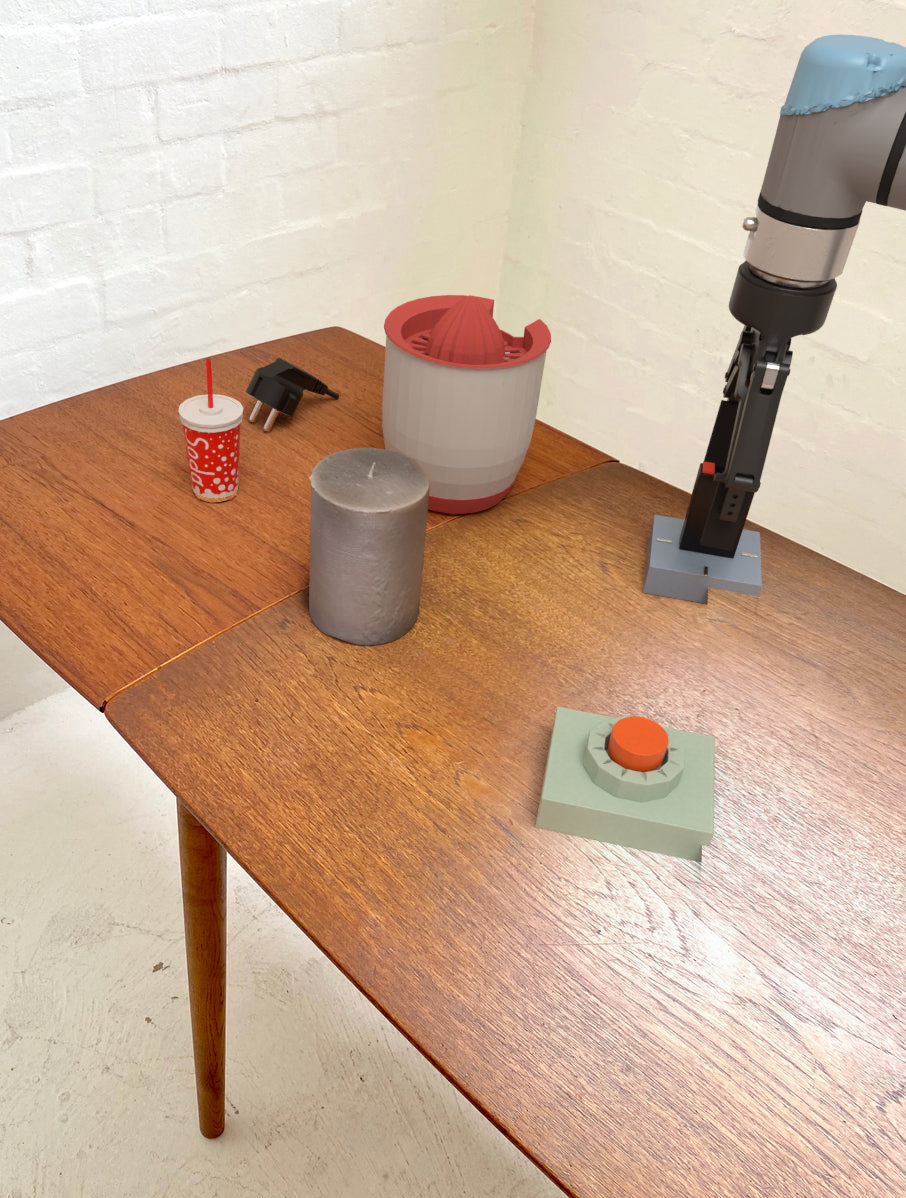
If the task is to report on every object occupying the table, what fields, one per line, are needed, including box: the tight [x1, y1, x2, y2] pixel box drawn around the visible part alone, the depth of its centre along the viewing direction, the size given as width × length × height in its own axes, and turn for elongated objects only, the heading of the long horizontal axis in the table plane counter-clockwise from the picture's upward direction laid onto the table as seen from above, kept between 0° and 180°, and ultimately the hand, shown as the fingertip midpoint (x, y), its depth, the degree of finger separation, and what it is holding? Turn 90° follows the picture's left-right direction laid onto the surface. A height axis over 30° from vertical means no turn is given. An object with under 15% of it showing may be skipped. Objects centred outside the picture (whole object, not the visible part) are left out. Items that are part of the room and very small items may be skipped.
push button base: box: [534, 706, 716, 863], centre depth 81 cm, size 12×10×5 cm
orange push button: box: [608, 715, 669, 772], centre depth 79 cm, size 4×4×2 cm
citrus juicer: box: [381, 294, 552, 516], centre depth 108 cm, size 16×17×20 cm
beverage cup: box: [178, 357, 244, 499], centre depth 107 cm, size 6×6×14 cm
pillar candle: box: [308, 447, 430, 646], centre depth 93 cm, size 10×10×15 cm
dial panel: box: [642, 514, 763, 605], centre depth 104 cm, size 10×9×3 cm
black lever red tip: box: [679, 460, 756, 558], centre depth 100 cm, size 5×2×8 cm, turn 77°
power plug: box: [245, 357, 340, 432], centre depth 123 cm, size 6×8×12 cm
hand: (716, 505), depth 100 cm, fingers open, 13 cm apart
